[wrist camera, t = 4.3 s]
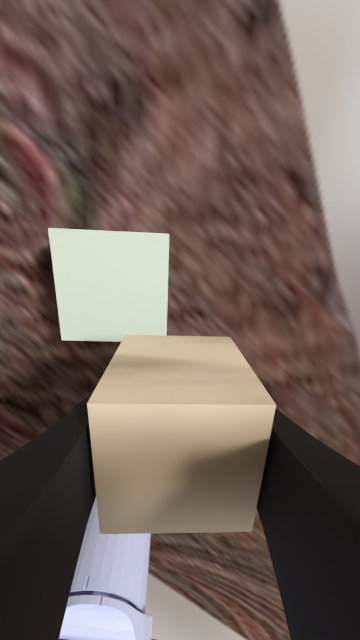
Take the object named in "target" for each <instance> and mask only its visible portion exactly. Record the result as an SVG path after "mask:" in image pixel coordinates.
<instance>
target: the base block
mask: <svg viewBox="0 0 360 640" xmlns="http://www.w3.org/2000/svg"><path fill="white" fill-rule="evenodd" d="M48 232H49V240H50V249H51V257H52V265H53V274H54V282H55V290H56V298H57V307H58V315H59V323H60V331H61V340H68V341H112V342H122V340H123V338H124V336H125V335H157V336H166V335H167V302H168V264H169V234H161V233H141V232H120V231H100V230H79V229H59V228H48Z"/></svg>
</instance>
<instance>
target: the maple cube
mask: <svg viewBox="0 0 360 640" xmlns="http://www.w3.org/2000/svg"><path fill="white" fill-rule="evenodd" d="M87 409H88V419H89V429H90V439H91V449H92V459H93V469H94V479H95V488H96V498H97V508H98V518H99V528H100V534H143V533H202V532H252V529H253V524H254V519H255V513H256V508H257V503H258V498H259V493H260V487H261V482H262V477H263V472H264V466H265V461H266V456H267V451H268V445H269V440H270V435H271V430H272V424H273V419H274V414H275V409H276V404H275V403H274V401H273V400H272V398H271V397H270V395H269V394H268V392H267V391H266V389H265V388H264V386H263V385H262V383H261V382H260V380H259V379H258V378H257V376H256V375H255V373H254V372H253V370H252V369H251V367H250V366H249V364H248V363H247V361H246V360H245V358H244V357H243V355H242V354H241V353H240V351H239V350H238V348H237V347H236V345H235V344H234V342H233V341H232V339H231V338H230V337H203V336H157V335H125V336H124V338H123V340H122V342H121V344H120V345H119V347H118V349H117V351H116V353H115V354H114V356H113V358H112V360H111V361H110V363H109V365H108V367H107V369H106V370H105V372H104V374H103V376H102V378H101V379H100V381H99V383H98V385H97V386H96V388H95V390H94V392H93V394H92V395H91V397H90V399H89V401H88V403H87Z"/></svg>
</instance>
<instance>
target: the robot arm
mask: <svg viewBox="0 0 360 640" xmlns="http://www.w3.org/2000/svg"><path fill="white" fill-rule="evenodd" d="M93 392H94V391H93ZM93 392H92V393H91V394H90V395H89V396H88V397H87V398H85V399H84V400H83V401H82V402H81V403H80V404H79V405H77V406H76V407H75V408H74V409H73V410H71V411H70V412H69V413H68V414H67V415H65V416H64V417H63V418H62V419H60V420H59V421H58V422H56V423H55V424H54V425H52V426H51V427H50V428H49V429H47V430H46V431H45V432H43V433H42V434H40V435H39V436H38V437H36V438H35V439H33V440H32V441H30V442H29V443H27V444H26V445H24V446H23V447H21V448H20V449H18V450H17V451H15V452H14V453H12V454H10V455H9V456H7V457H6V458H4V459H2V460H0V640H156V639H151V636H152V615H147V614H145V609H146V594H147V580H148V565H149V550H150V536H151V533H143V534H100V528H99V518H98V508H97V498H96V488H95V479H94V469H93V459H92V449H91V439H90V429H89V419H88V409H87V403H88V401H89V399H90V397H91V395H92V394H93ZM257 510H258V513H259V516H260V519H261V523H262V526H263V530H264V534H265V537H266V541H267V545H268V549H269V552H270V556H271V560H272V564H273V568H274V572H275V576H276V579H277V583H278V587H279V591H280V595H281V599H282V604H283V608H284V612H285V616H286V620H287V625H288V629H289V633H290V637H291V640H360V466H359V465H357V464H355V463H353V462H352V461H350V460H348V459H347V458H345V457H344V456H342V455H340V454H339V453H337V452H336V451H334V450H333V449H331V448H329V447H328V446H326V445H325V444H323V443H322V442H320V441H319V440H317V439H316V438H314V437H313V436H312V435H310V434H309V433H307V432H306V431H305V430H303V429H302V428H301V427H299V426H298V425H297V424H295V423H294V422H293V421H291V420H290V419H289V418H287V417H286V416H285V415H284V414H282V413H281V412H280V411H279V410H277V409H275V414H274V419H273V424H272V430H271V435H270V440H269V445H268V451H267V456H266V461H265V466H264V472H263V477H262V482H261V487H260V493H259V498H258V503H257Z"/></svg>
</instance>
